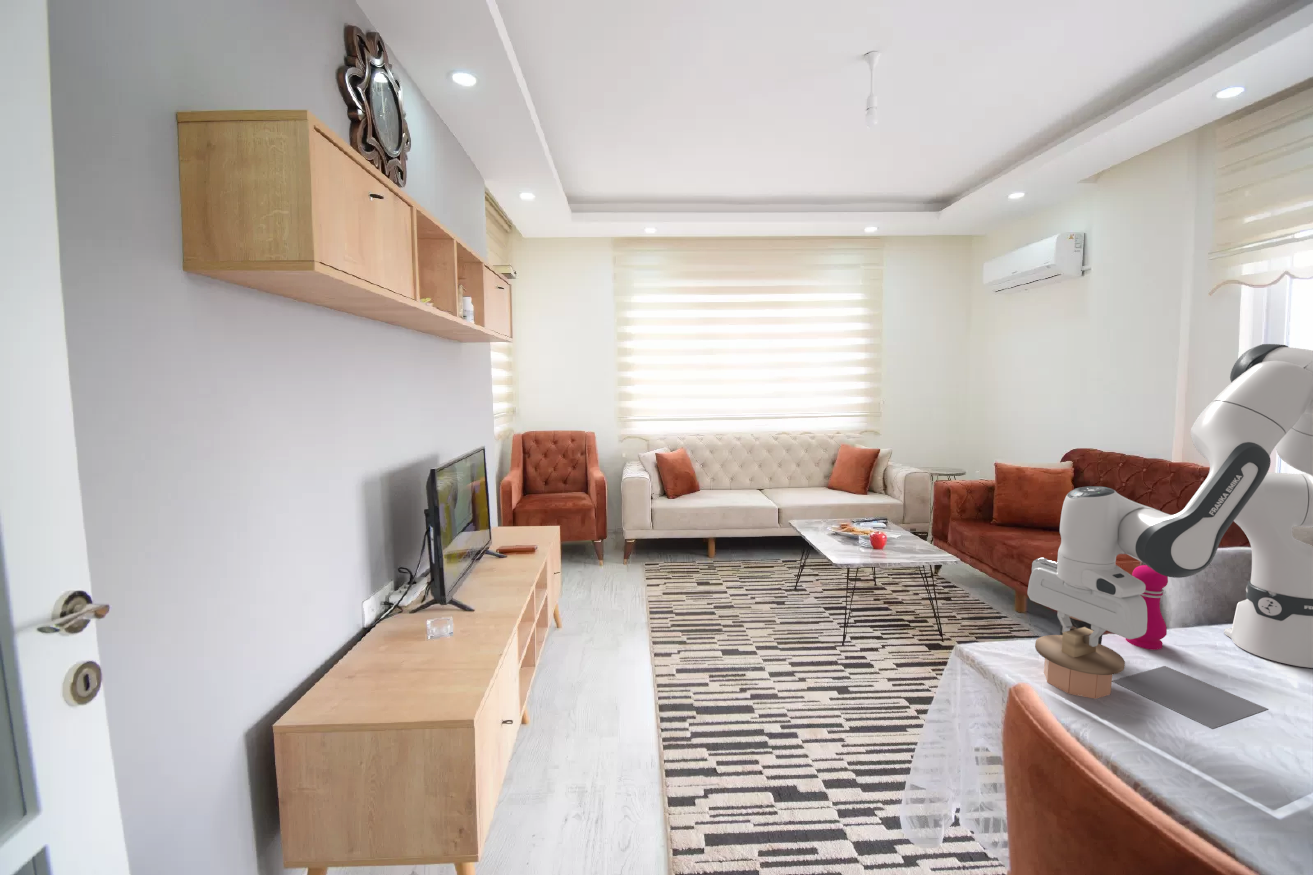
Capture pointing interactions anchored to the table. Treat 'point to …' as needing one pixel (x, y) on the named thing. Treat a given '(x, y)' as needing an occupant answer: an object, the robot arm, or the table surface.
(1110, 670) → the lid
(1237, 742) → the table surface
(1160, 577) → the pepper mill
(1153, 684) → the mat
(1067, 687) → the bowl
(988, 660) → the table surface
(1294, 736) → the table surface
